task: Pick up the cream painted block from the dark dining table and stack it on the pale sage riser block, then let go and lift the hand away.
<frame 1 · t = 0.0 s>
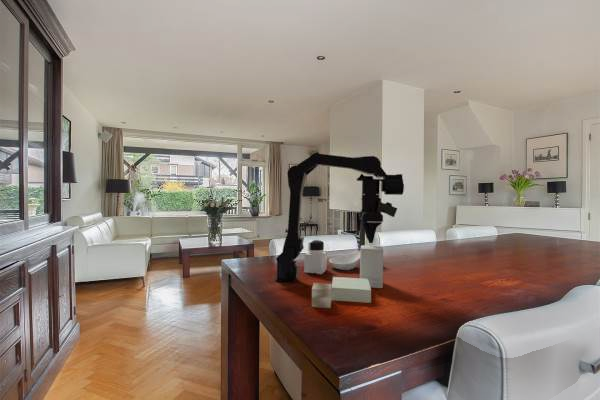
hand: (369, 240, 100), 15 cm above the table, fingers open, 9 cm apart
medicine bottle: (315, 271, 116), on the table
cream block: (321, 304, 81), on the table
spoon rest: (356, 268, 123), on the table
supplement box: (370, 284, 100), on the table
sage riser: (350, 296, 89), on the table
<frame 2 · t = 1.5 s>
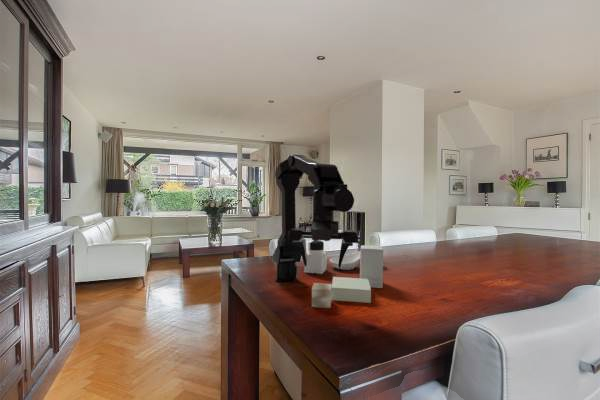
hand: (322, 266, 81), 10 cm above the table, fingers open, 9 cm apart
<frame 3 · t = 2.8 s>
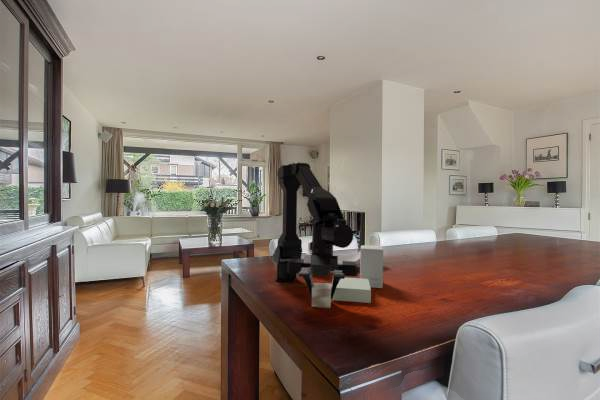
hand: (321, 298, 81), 2 cm above the table, fingers closed on cream block, 5 cm apart
cream block: (321, 303, 81), on the table, touching gripper
everything else where it was.
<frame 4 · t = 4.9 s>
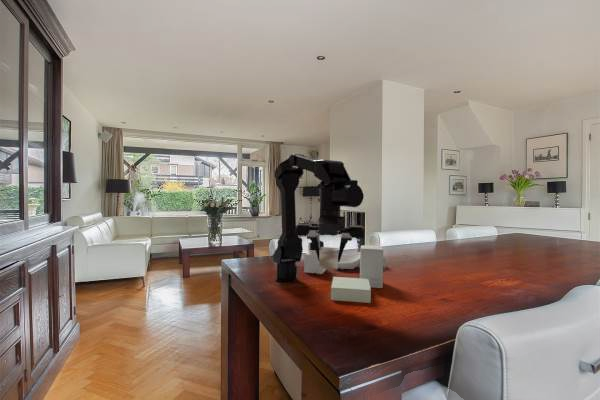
hand: (329, 261, 83), 11 cm above the table, fingers closed on cream block, 5 cm apart
cream block: (328, 266, 83), point 10 cm above the table, touching gripper
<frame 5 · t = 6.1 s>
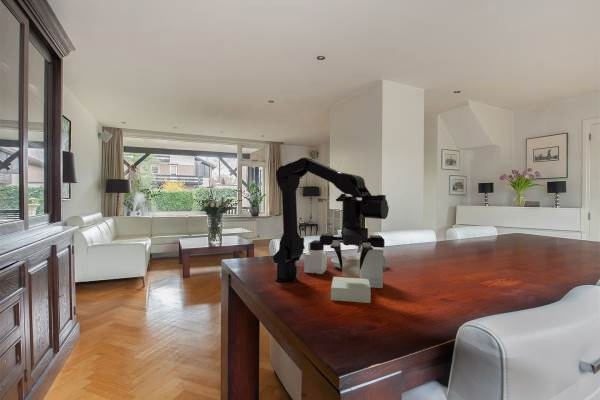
hand: (350, 268, 89), 8 cm above the table, fingers closed on cream block, 5 cm apart
cream block: (350, 273, 89), point 6 cm above the table, touching gripper
when the fingers open (6 cm above the table, at t = 7.1 s): cream block drops 1 cm, resting on sage riser.
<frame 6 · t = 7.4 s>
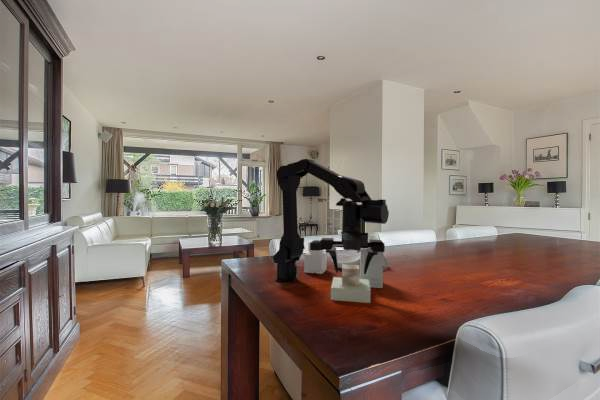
hand: (350, 273, 89), 6 cm above the table, fingers open, 8 cm apart
cream block: (350, 283, 89), point 3 cm above the table, touching sage riser
sage riser: (350, 296, 89), on the table, touching cream block
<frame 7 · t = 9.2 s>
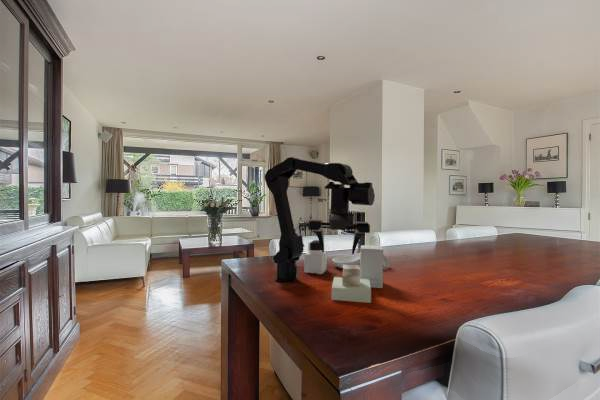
hand: (337, 253, 93), 12 cm above the table, fingers open, 9 cm apart
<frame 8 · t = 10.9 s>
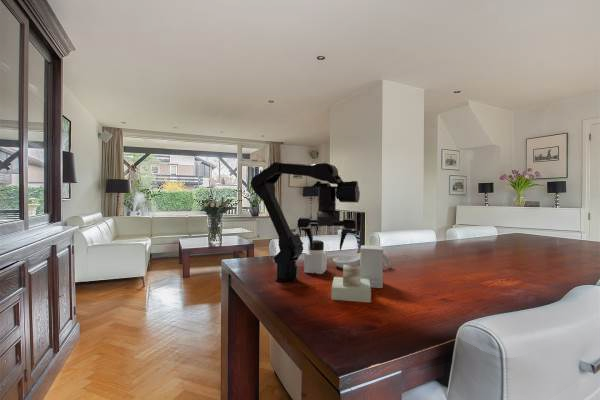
hand: (326, 249, 98), 12 cm above the table, fingers open, 9 cm apart
at the end: cream block 0.5 cm off-centre on the sage riser, point 4.0 cm above the sage riser's base; cream block tilted 0°; the gripper is holding nothing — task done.
